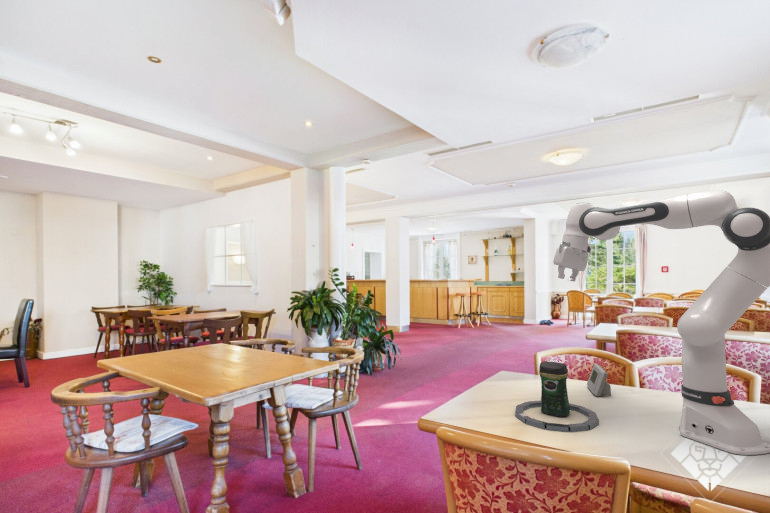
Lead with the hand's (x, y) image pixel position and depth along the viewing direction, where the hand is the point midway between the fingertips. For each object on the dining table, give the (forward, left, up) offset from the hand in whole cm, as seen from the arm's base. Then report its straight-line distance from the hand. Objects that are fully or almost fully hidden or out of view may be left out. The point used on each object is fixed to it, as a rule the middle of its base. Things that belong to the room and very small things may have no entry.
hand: (566, 279), depth 154 cm
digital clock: (+15, -22, -49) cm, 56 cm away
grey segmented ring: (-7, +12, -49) cm, 51 cm away
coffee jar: (-3, +9, -49) cm, 50 cm away
